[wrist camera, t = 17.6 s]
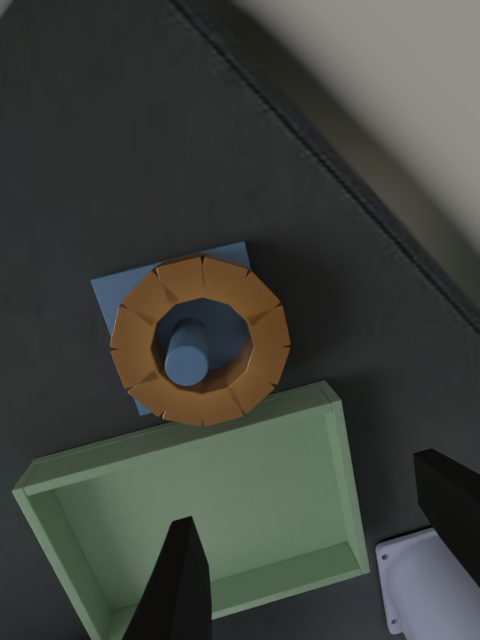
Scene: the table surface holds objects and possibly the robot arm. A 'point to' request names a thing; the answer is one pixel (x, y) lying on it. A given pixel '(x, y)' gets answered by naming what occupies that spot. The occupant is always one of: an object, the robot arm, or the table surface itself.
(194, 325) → the post
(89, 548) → the tray
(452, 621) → the robot arm
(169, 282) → the ring
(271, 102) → the table surface
